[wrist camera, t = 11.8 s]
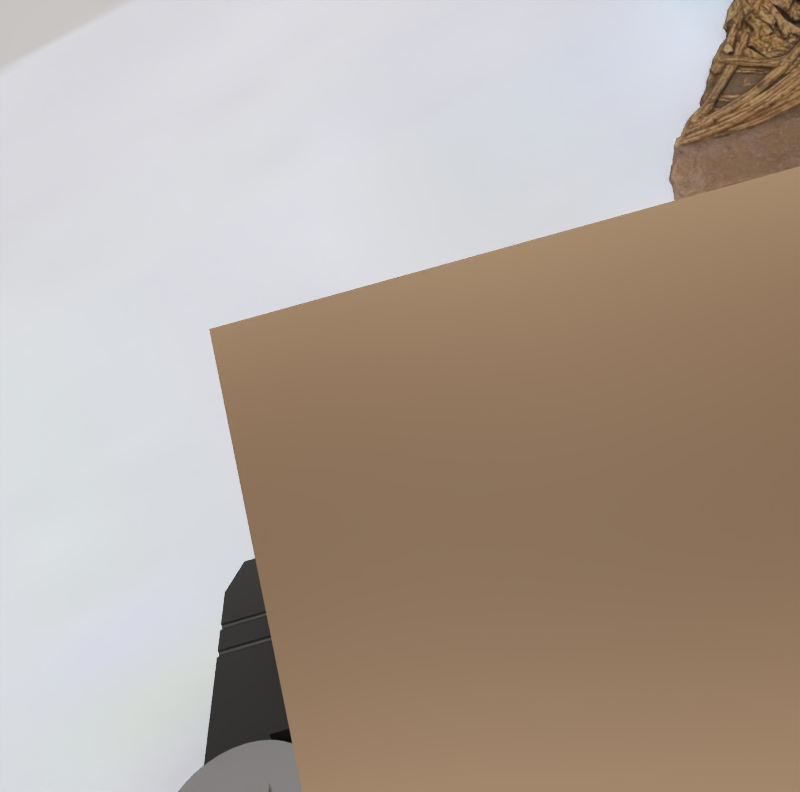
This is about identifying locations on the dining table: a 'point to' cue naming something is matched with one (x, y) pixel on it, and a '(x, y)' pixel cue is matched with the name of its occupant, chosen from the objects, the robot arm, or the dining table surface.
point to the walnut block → (539, 509)
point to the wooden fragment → (745, 103)
